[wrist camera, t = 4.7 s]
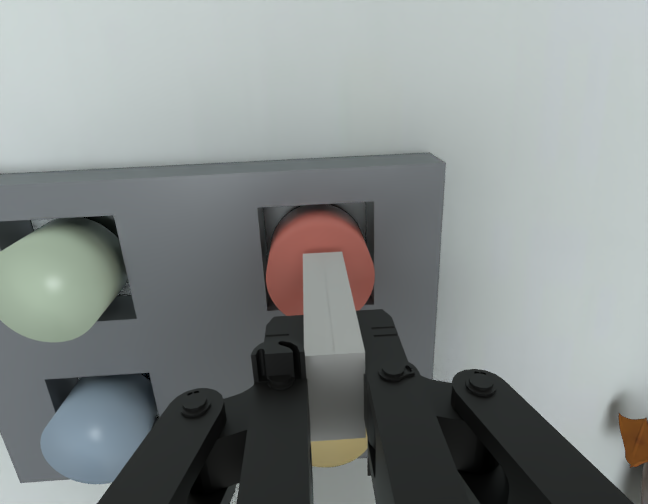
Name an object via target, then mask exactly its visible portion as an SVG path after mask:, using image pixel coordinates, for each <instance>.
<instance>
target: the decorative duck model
mask: <svg viewBox="0 0 648 504" xmlns="http://www.w3.org/2000/svg"><path fill="white" fill-rule="evenodd" d="M619 426H620V431H621V435H622V439H623V443H624V447H625V457H626V460H627V462H628V463H629V464H630V465H631V466H630V468H631V467H637V466H639V465H641V464H643V463H644V466H643V472H642V496H641V504H648V422H647V418H645V419H638V420H635V419H628V418H626V417H623V416H622V415H621V414H620V413H619Z"/></svg>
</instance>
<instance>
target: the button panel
mask: <svg viewBox="0 0 648 504" xmlns="http://www.w3.org/2000/svg"><path fill="white" fill-rule="evenodd" d="M445 167H446V163H445V162H444V161H442V160H440V159H439V158H437V157H436V156H434V155H432V154H431V153H414V154H394V155H374V156H354V157H334V158H314V159H294V160H274V161H254V162H234V163H214V164H194V165H174V166H153V167H133V168H113V169H93V170H73V171H53V172H33V173H13V174H0V251H2V250H4V249H5V248H7V247H9V246H10V245H12V244H14V243H15V242H17V241H19V240H20V239H22V238H24V237H25V236H27V235H28V234H30V233H32V232H33V228H32V225H31V222H30V220H36V219H54V218H73V217H92V216H111V215H114V219H115V223H116V228H117V232H118V237H119V241H120V246H121V250H122V255H123V259H124V263H125V268H126V272H127V277H128V281H129V286H130V290H131V294H132V295H129V296H116V298H115V299H114V300H113V301H112V303H111V304H110V305H109V306H108V308H107V309H106V310H105V311H104V313H103V314H102V315H101V316H100V317H99V319H98V320H97V321H96V322H95V324H94V325H93V326H92V327H91V328H90V329H89V330H88V331H87V332H86V333H84V334H83V335H81V336H79V337H78V338H75V339H72V340H69V341H65V342H42V341H37V340H33V339H30V338H27V337H25V336H22V335H20V334H19V333H17V332H15V331H13V330H12V329H10V328H9V327H8V326H6V325H5V324H4V323H3V322H2V321H1V320H0V433H1V435H2V438H3V440H4V443H5V445H6V448H7V450H8V453H9V455H10V458H11V460H12V463H13V465H14V468H15V470H16V473H17V475H18V478H19V480H20V483H25V482H39V481H53V480H67V479H69V478H67V477H65V476H63V475H62V474H60V473H58V472H57V471H56V470H55V469H53V468H52V467H51V466H50V465H49V463H48V462H47V461H46V459H45V458H44V456H43V454H42V451H41V445H40V440H41V435H42V433H43V431H44V429H45V427H46V426H47V424H48V423H49V422H50V420H51V419H52V417H53V416H54V415H55V413H56V412H57V410H58V409H59V408H60V406H61V405H62V403H63V402H64V401H65V399H66V398H67V396H68V395H69V393H70V392H71V391H72V389H73V388H74V386H75V385H76V384H77V382H78V378H77V377H90V376H106V375H121V374H136V373H149V374H150V379H151V383H152V388H153V392H154V396H155V401H156V405H157V410H158V414H159V418H160V416H161V415H162V414H163V412H164V411H165V409H166V408H167V407H168V405H169V404H170V403H171V402H172V401H173V400H174V399H175V398H176V397H177V396H179V395H181V394H183V393H184V392H186V391H189V390H193V389H196V388H209V389H213V390H216V391H218V392H219V393H220V394H221V395H222V397H223V399H224V398H228V397H231V396H234V395H237V394H240V393H242V392H244V391H246V390H248V389H249V388H251V387H252V386H253V385H254V378H253V370H252V362H251V353H252V351H253V349H254V348H255V347H257V346H258V345H259V344H261V343H263V342H264V338H265V331H266V325H267V324H268V323H269V322H270V320H271V319H272V318H273V317H276V316H286V315H285V314H283V313H282V312H281V311H280V310H279V309H278V308H277V307H276V305H275V304H274V302H273V301H272V299H271V297H270V295H269V292H268V289H267V284H266V270H267V264H268V256H267V245H266V235H265V224H264V214H263V207H279V206H298V205H317V204H335V203H354V202H366V246H367V248H368V251H369V253H370V256H371V259H372V261H373V265H374V270H375V280H374V286H373V290H372V292H371V295H370V297H369V299H368V300H367V302H366V303H365V305H364V306H363V307H362V308H361V309H360V310H375V309H383V310H384V311H385V312H387V313H388V314H389V315H390V316H391V317H392V319H393V322H394V324H395V328H396V330H397V333H398V336H399V338H400V341H401V343H402V346H403V349H404V352H405V354H406V357H407V360H408V362H410V363H411V364H413V365H414V366H415V367H416V368H417V370H418V371H419V373H420V375H421V376H423V377H426V378H428V379H432V378H433V362H434V345H435V329H436V313H437V297H438V280H439V264H440V248H441V232H442V215H443V199H444V183H445ZM159 418H157V419H155V421H154V424H153V426H154V425H155V423H156V422H157V421H158V419H159ZM153 426H152V427H153ZM151 429H152V428H151ZM358 458H368V448H367V450H366V451H365V452H364V453H363V454H362V455H361V456H359V457H358Z"/></svg>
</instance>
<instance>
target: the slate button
mask: <svg viewBox="0 0 648 504" xmlns="http://www.w3.org/2000/svg"><path fill="white" fill-rule="evenodd" d="M157 414H158V410H157V405H156V401H155V396H154V392H153V388H152V383H151V382H150V381H149V380H148V379H147V378H145V377H144V376H143V375H141V374H139V373H136V374H121V375H106V376H90V377H81V378H80V379H79V381H78V382H77V384H76V385H75V386H74V388H73V389H72V391H71V392H70V393H69V395H68V396H67V398H66V399H65V401H64V402H63V403H62V405H61V406H60V408H59V409H58V410H57V412H56V413H55V415H54V416H53V417H52V419H51V420H50V422H49V423H48V424H47V426H46V427H45V429H44V431H43V433H42V435H41V440H40V445H41V451H42V454H43V456H44V458H45V459H46V461H47V462H48V463H49V465H50V466H51V467H52V468H53V469H55V470H56V471H57V472H58V473H60V474H62V475H63V476H65V477H67V478H69V479H72V480H75V481H78V482H82V483H88V484H105V483H111V482H113V481H114V480H115V478H116V477H117V476H118V474H119V473H120V471H121V470H122V469H123V467H124V466H125V465H126V463H127V462H128V460H129V459H130V458H131V456H132V455H133V454H134V452H135V451H136V449H137V448H138V447H139V445H140V444H141V443H142V441H143V440H144V438H145V437H146V436H147V434H148V433H149V432H150V430H151V428H152V426H153V424H154V421H155V419H156V416H157Z"/></svg>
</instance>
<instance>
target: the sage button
mask: <svg viewBox="0 0 648 504" xmlns="http://www.w3.org/2000/svg"><path fill="white" fill-rule="evenodd" d="M127 279H128V277H127V272H126V268H125V263H124V259H123V255H122V250H121V246H120V241H119V239H118V238H117V237H116V236H115V235H114V234H113V233H112V232H111V231H109V230H108V229H107V228H105V227H104V226H102V225H101V224H99V223H97V222H94V221H92V220H89V219H85V218H80V217H73V218H58V219H55V220H52V221H50V222H48V223H47V224H45V225H43V226H42V227H40V228H38V229H37V230H35V231H33V232H32V233H30V234H28V235H27V236H25V237H24V238H22V239H20V240H19V241H17V242H15V243H14V244H12V245H10V246H9V247H7V248H5V249H4V250H2V251H0V320H1V321H2V322H3V323H4V324H5V325H6V326H8V327H9V328H10V329H12V330H13V331H15V332H17V333H19V334H20V335H22V336H25V337H27V338H30V339H33V340H37V341H42V342H65V341H69V340H72V339H75V338H78V337H79V336H81V335H83V334H84V333H86V332H87V331H88V330H89V329H90V328H91V327H92V326H93V325H94V324H95V322H96V321H97V320H98V319H99V317H100V316H101V315H102V314H103V313H104V311H105V310H106V309H107V308H108V306H109V305H110V304H111V303H112V301H113V300H114V299H115V298H116V296H117V295H118V294H119V293H120V291H121V290H122V289H123V287H124V286H125V284H126V282H127Z"/></svg>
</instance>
